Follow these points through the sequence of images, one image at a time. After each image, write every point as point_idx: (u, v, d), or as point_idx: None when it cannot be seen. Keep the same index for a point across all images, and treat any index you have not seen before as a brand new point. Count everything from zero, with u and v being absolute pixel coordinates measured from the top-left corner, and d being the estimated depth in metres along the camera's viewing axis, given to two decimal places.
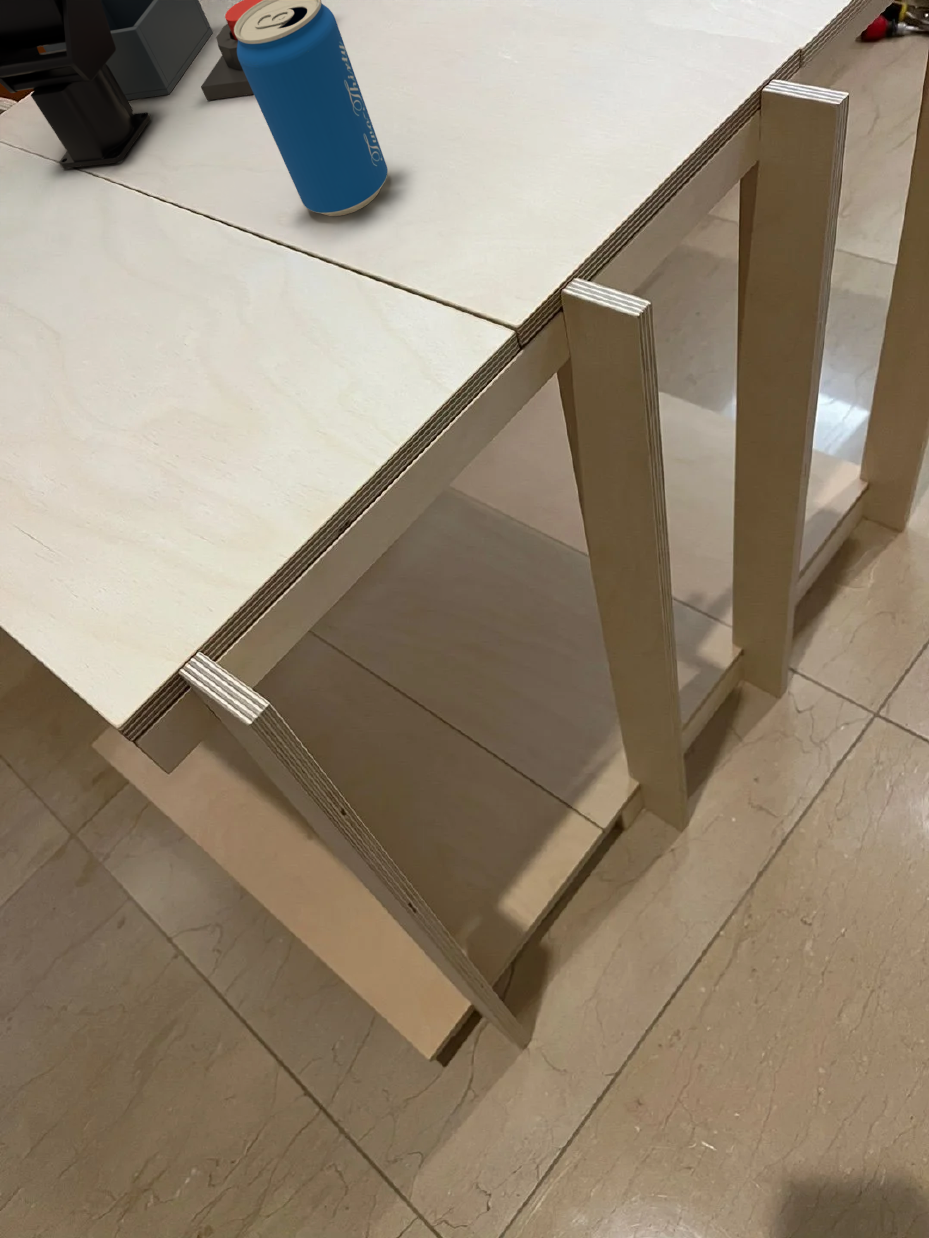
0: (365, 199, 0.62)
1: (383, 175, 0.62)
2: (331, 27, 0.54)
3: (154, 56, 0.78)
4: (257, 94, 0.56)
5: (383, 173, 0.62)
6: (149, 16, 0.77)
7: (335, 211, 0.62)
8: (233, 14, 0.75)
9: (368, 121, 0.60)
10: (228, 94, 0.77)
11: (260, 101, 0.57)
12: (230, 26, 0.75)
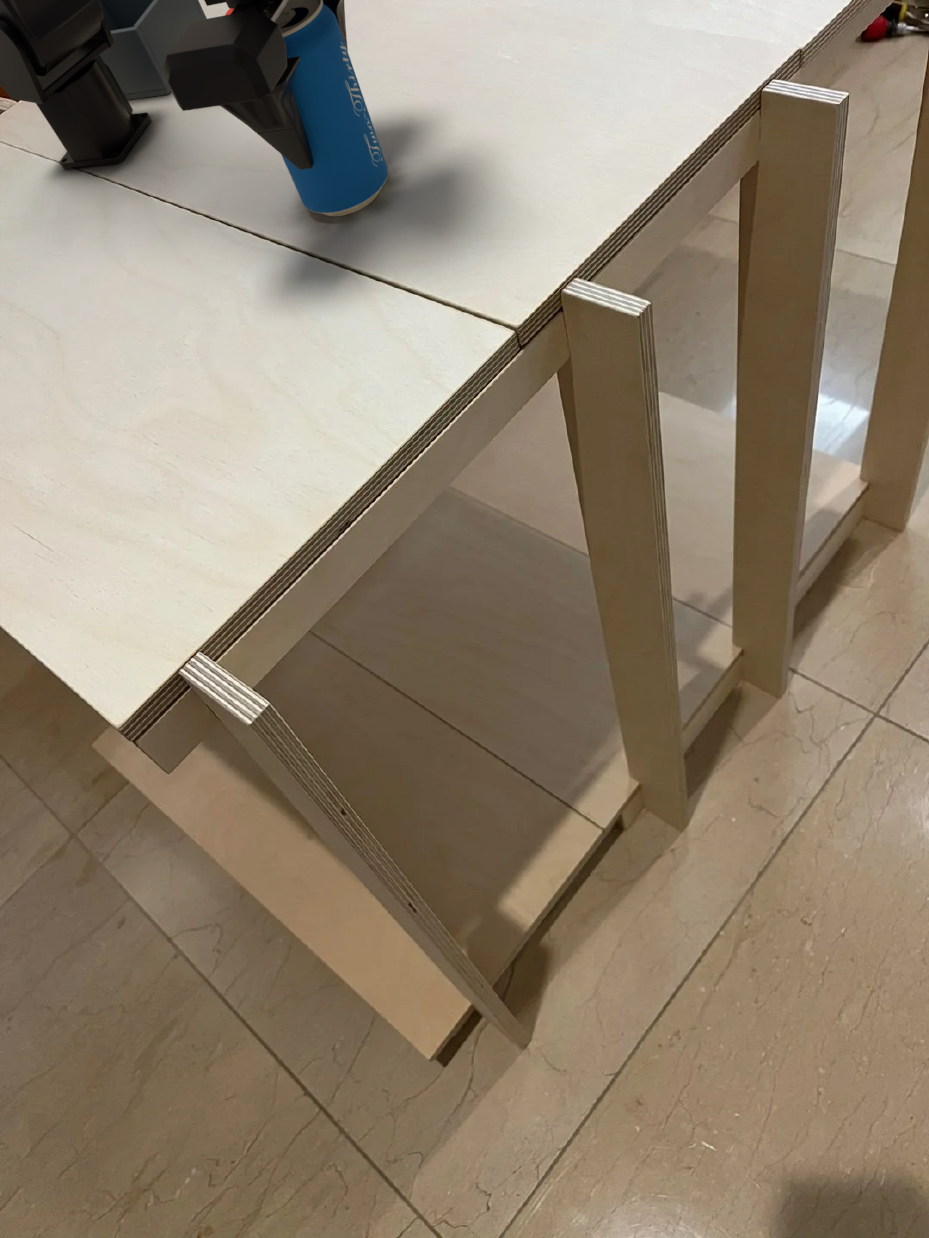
0: (365, 199, 0.62)
1: (384, 175, 0.62)
2: (332, 28, 0.54)
3: (154, 56, 0.78)
4: None
5: (383, 174, 0.62)
6: (149, 16, 0.77)
7: (335, 211, 0.62)
8: None
9: (369, 122, 0.60)
10: None
11: None
12: None
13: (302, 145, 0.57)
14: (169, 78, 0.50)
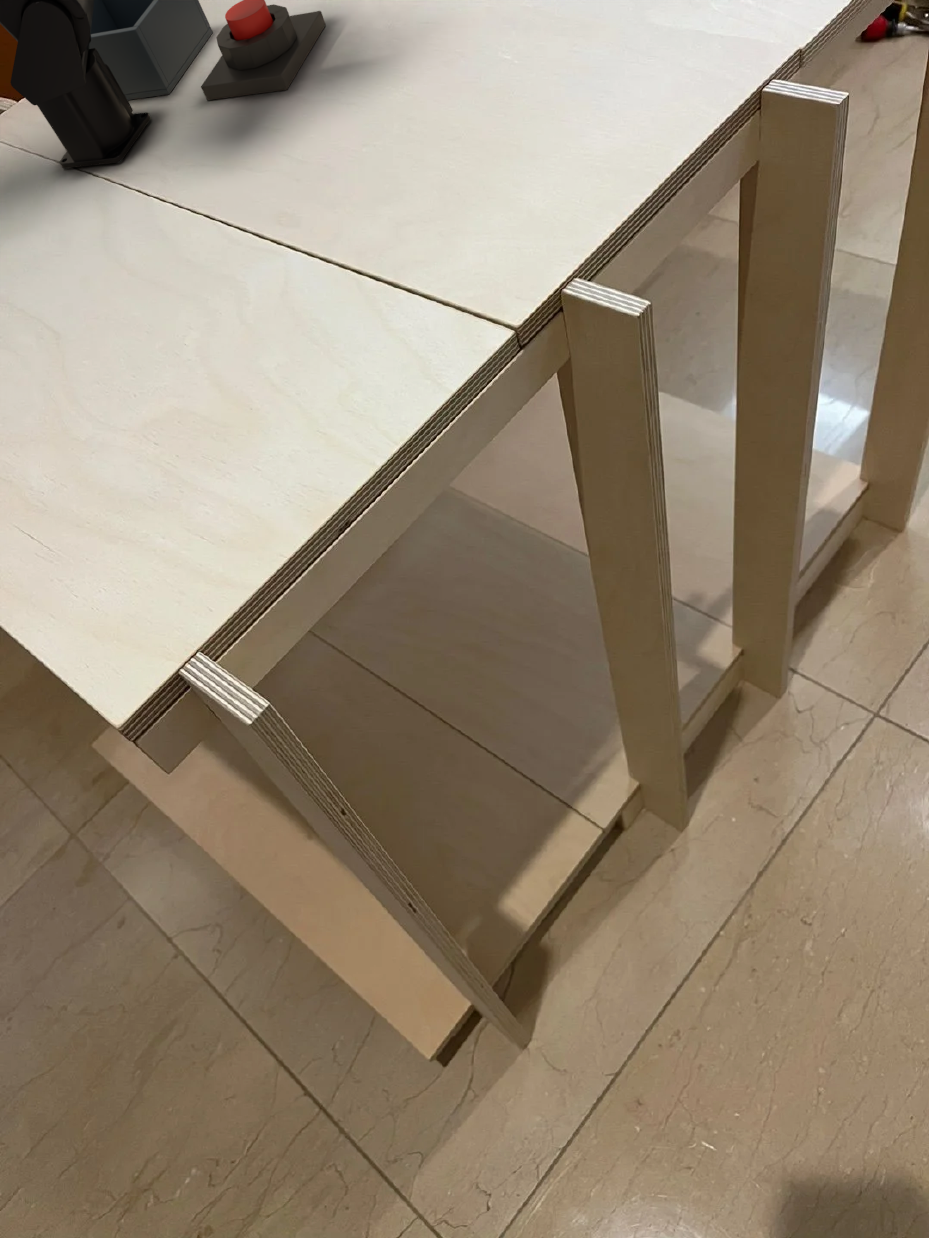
0: None
1: None
2: None
3: (154, 56, 0.78)
4: None
5: None
6: (149, 16, 0.77)
7: None
8: (233, 14, 0.75)
9: None
10: (228, 94, 0.77)
11: None
12: (230, 26, 0.75)
13: None
14: None
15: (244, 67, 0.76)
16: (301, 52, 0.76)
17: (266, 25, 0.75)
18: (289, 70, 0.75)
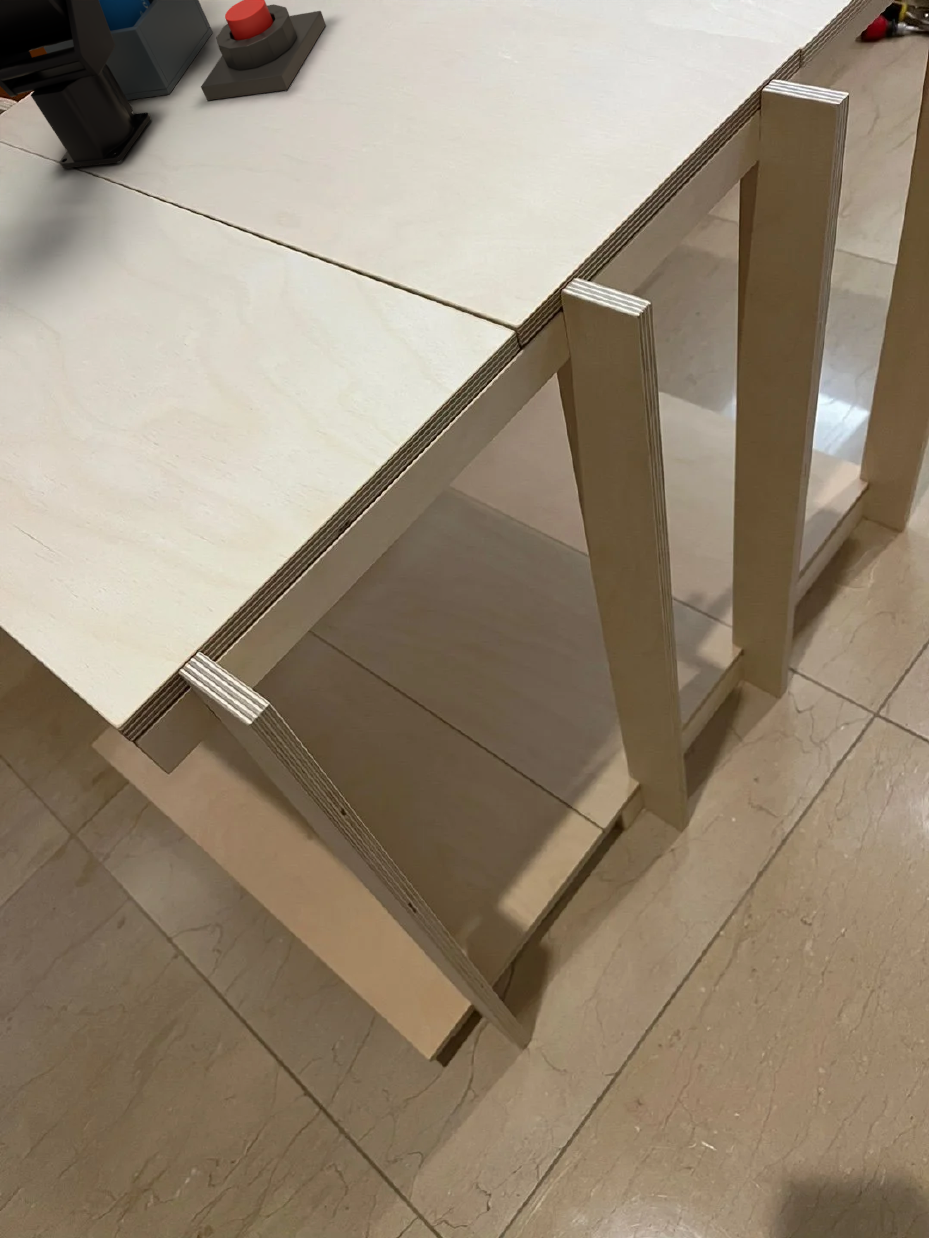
0: None
1: None
2: None
3: (154, 56, 0.78)
4: None
5: None
6: (149, 16, 0.77)
7: None
8: (233, 14, 0.75)
9: (145, 2, 0.80)
10: (228, 94, 0.77)
11: None
12: (230, 26, 0.75)
13: None
14: None
15: (244, 67, 0.76)
16: (301, 52, 0.76)
17: (266, 25, 0.75)
18: (289, 70, 0.75)
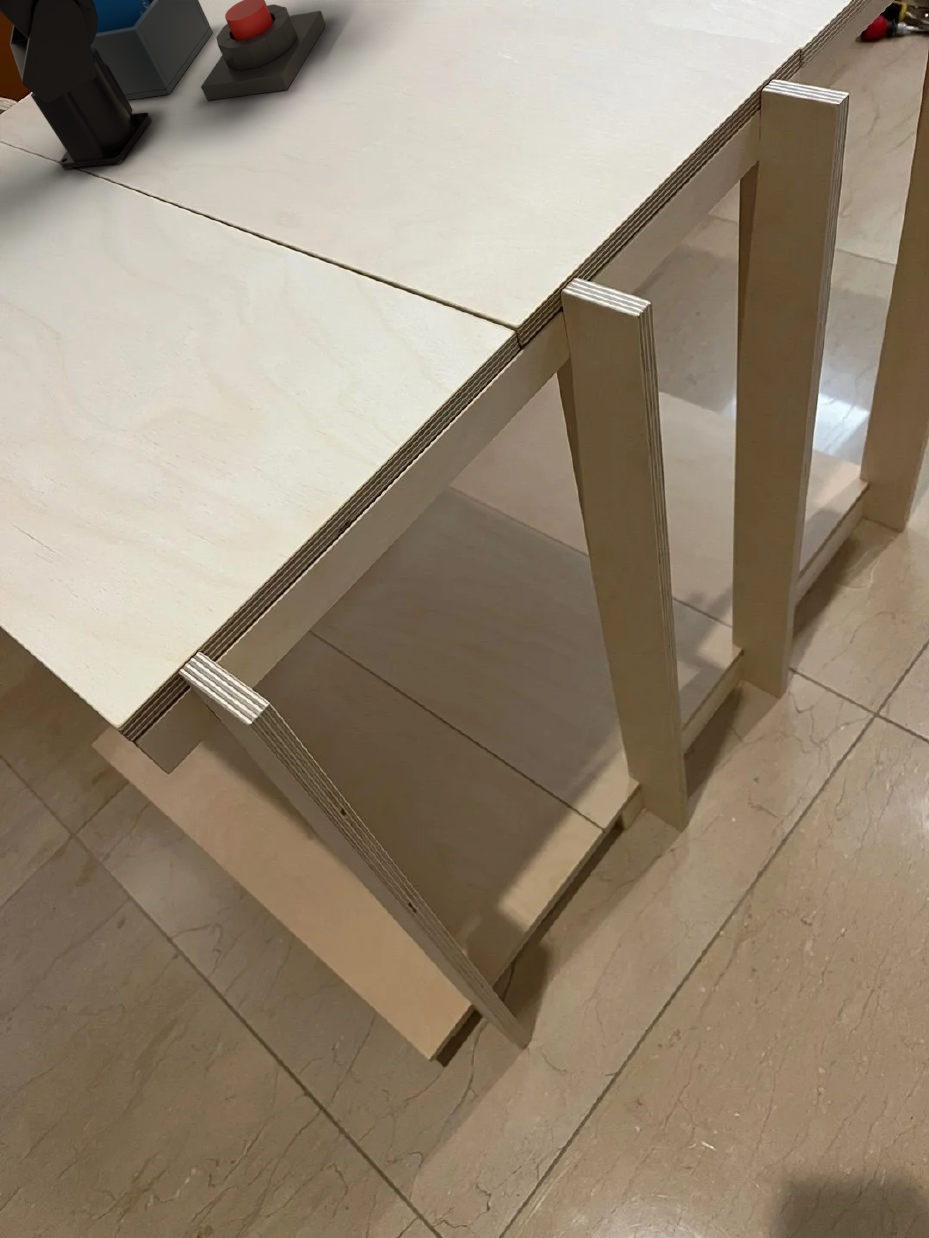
0: None
1: None
2: None
3: (154, 56, 0.78)
4: None
5: None
6: (149, 16, 0.77)
7: None
8: (233, 14, 0.75)
9: (145, 2, 0.80)
10: (228, 94, 0.77)
11: None
12: (230, 26, 0.75)
13: None
14: None
15: (244, 67, 0.76)
16: (301, 52, 0.76)
17: (266, 25, 0.75)
18: (289, 70, 0.75)
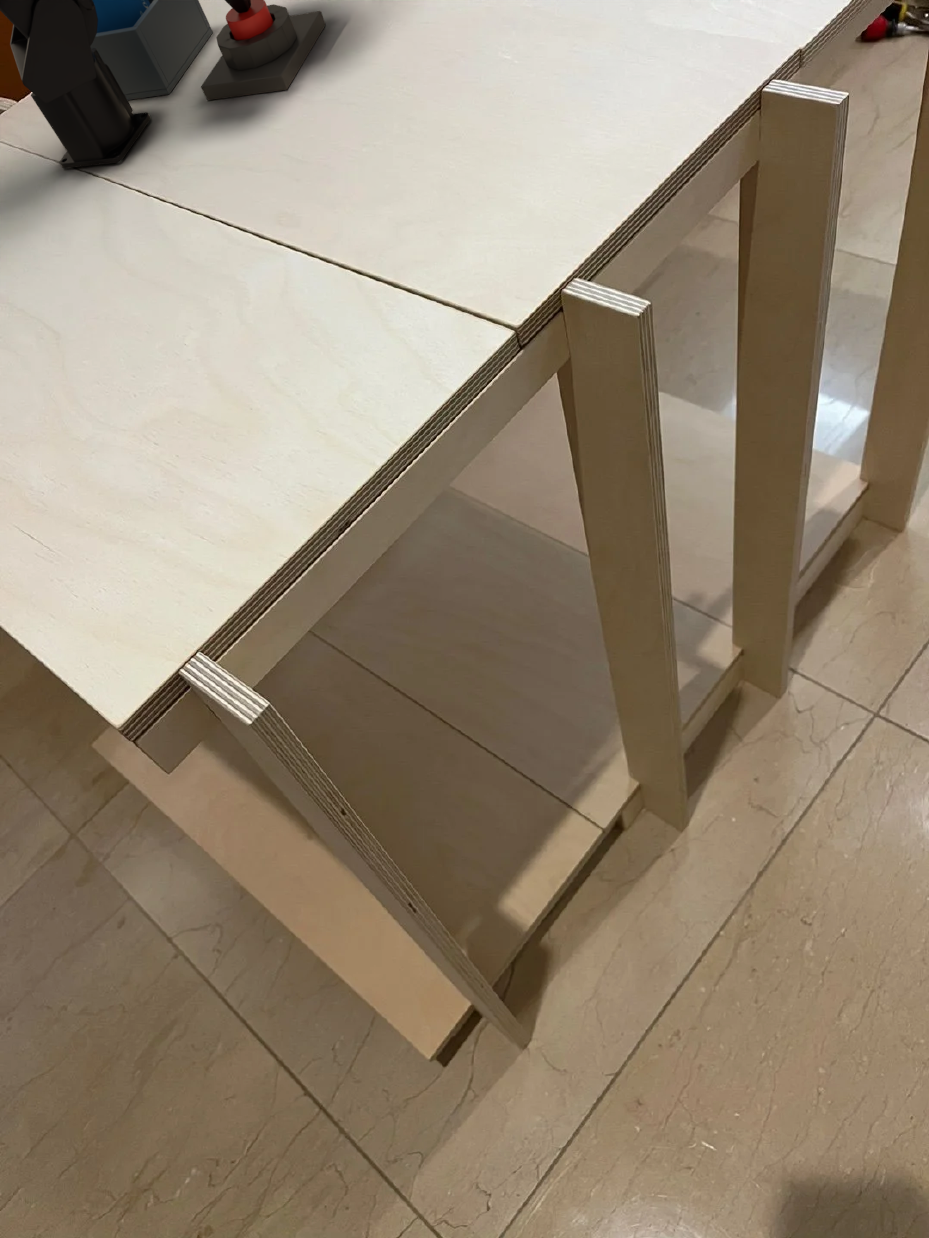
0: None
1: None
2: None
3: (154, 56, 0.78)
4: None
5: None
6: (149, 16, 0.77)
7: None
8: (234, 15, 0.75)
9: (145, 2, 0.80)
10: (228, 94, 0.77)
11: None
12: (231, 27, 0.75)
13: None
14: None
15: (244, 67, 0.76)
16: (301, 52, 0.76)
17: (266, 26, 0.75)
18: (289, 70, 0.75)
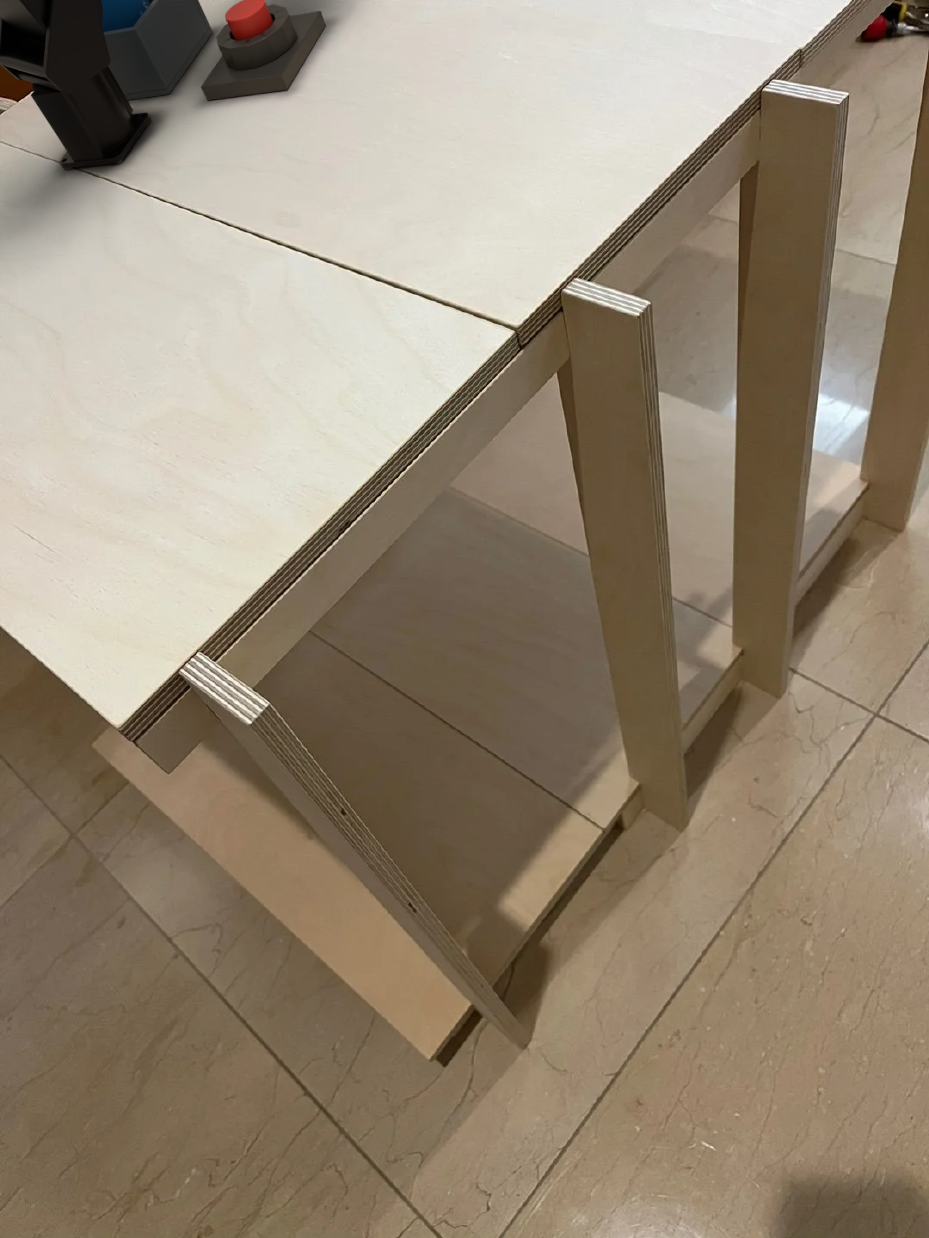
0: None
1: None
2: None
3: (154, 56, 0.78)
4: None
5: None
6: (149, 16, 0.77)
7: None
8: (233, 14, 0.75)
9: (145, 2, 0.80)
10: (228, 94, 0.77)
11: None
12: (230, 26, 0.75)
13: None
14: None
15: (244, 67, 0.76)
16: (301, 52, 0.76)
17: (266, 25, 0.75)
18: (289, 70, 0.75)
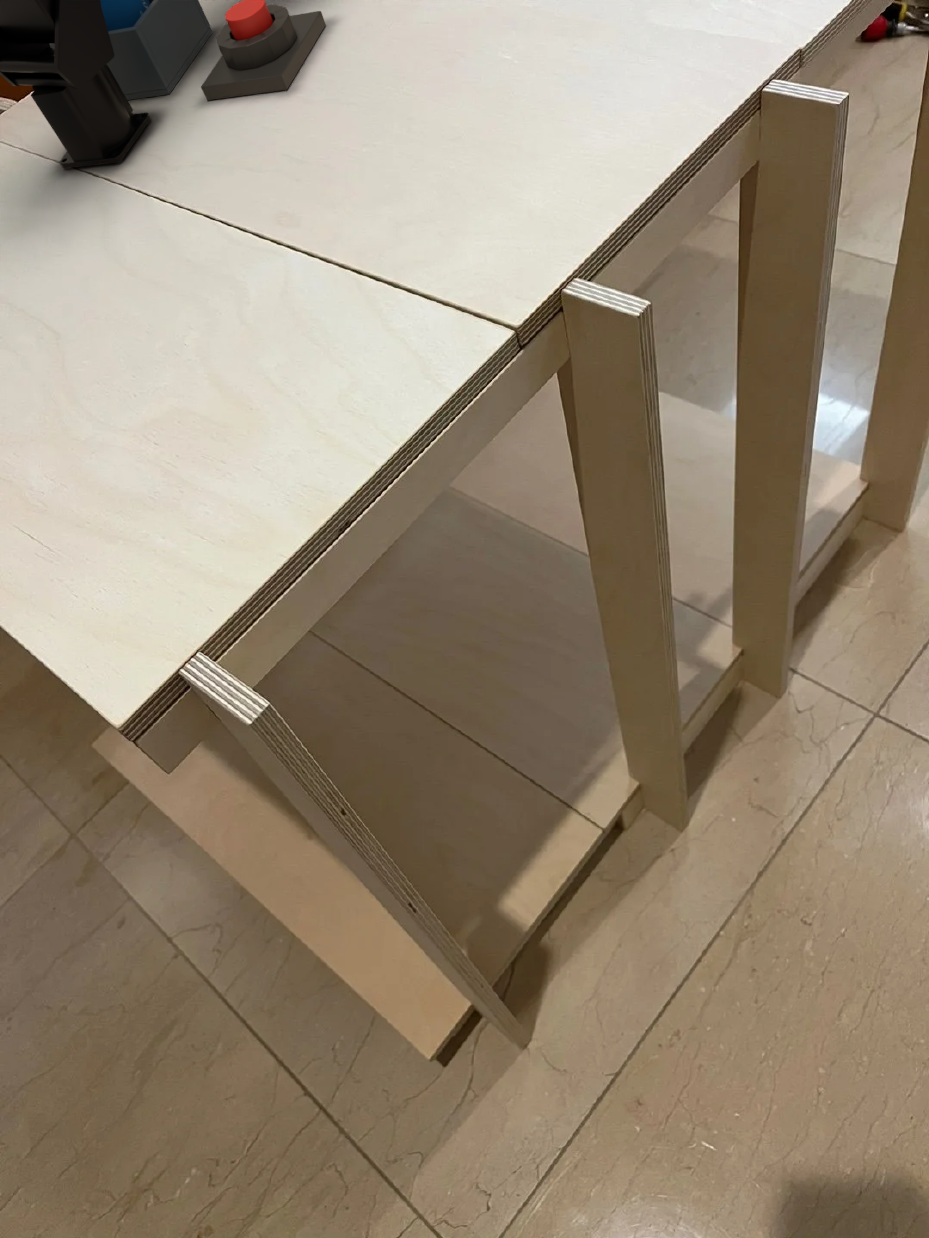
0: None
1: None
2: None
3: (154, 56, 0.78)
4: None
5: None
6: (149, 16, 0.77)
7: None
8: (233, 14, 0.75)
9: (145, 2, 0.80)
10: (228, 94, 0.77)
11: None
12: (230, 26, 0.75)
13: None
14: None
15: (244, 67, 0.76)
16: (301, 52, 0.76)
17: (266, 25, 0.75)
18: (289, 70, 0.75)
